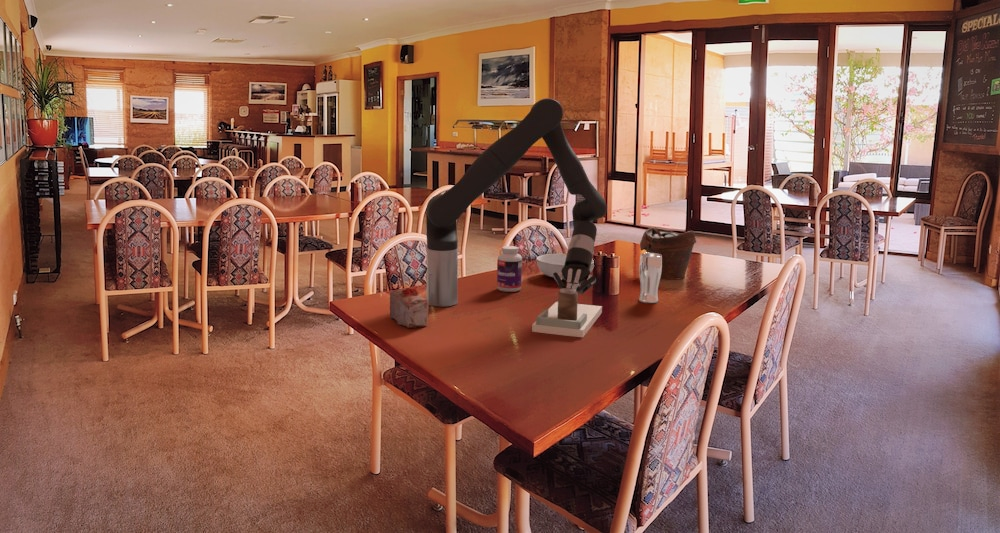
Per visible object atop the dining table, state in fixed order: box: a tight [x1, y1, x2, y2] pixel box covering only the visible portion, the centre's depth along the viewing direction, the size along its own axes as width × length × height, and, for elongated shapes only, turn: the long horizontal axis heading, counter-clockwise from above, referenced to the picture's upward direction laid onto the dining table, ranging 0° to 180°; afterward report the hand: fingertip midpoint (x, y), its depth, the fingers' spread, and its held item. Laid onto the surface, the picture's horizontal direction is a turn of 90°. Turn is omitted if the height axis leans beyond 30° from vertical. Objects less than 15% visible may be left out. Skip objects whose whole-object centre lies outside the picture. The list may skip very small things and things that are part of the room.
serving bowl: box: [536, 253, 595, 281], centre depth 261 cm, size 21×21×7 cm
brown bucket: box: [639, 227, 697, 280], centre depth 266 cm, size 18×20×18 cm
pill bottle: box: [496, 245, 523, 293], centre depth 241 cm, size 8×8×14 cm
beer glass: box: [638, 252, 662, 304], centre depth 229 cm, size 7×7×15 cm
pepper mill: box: [557, 288, 579, 321], centre depth 202 cm, size 5×5×8 cm
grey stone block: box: [389, 287, 430, 329], centre depth 202 cm, size 14×8×10 cm, turn 33°
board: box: [531, 301, 603, 338], centre depth 206 cm, size 26×14×4 cm, turn 161°
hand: (569, 304), depth 205 cm, fingers closed
